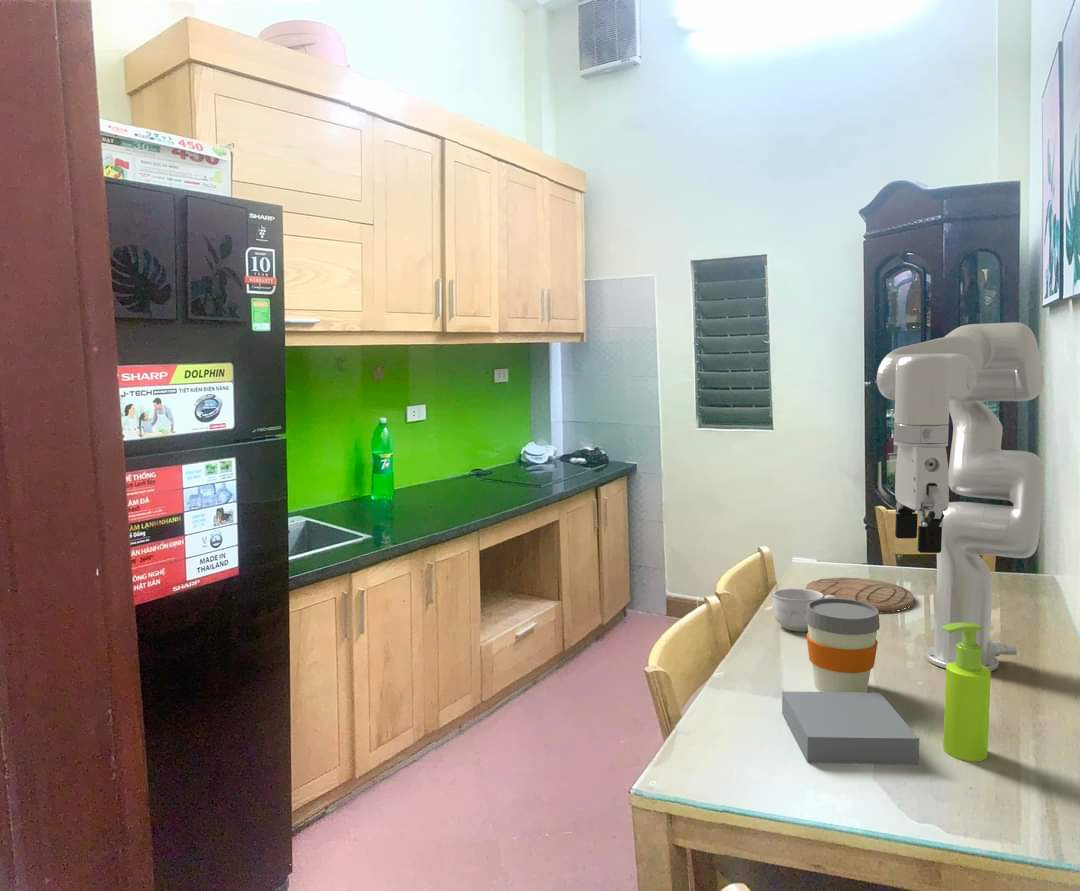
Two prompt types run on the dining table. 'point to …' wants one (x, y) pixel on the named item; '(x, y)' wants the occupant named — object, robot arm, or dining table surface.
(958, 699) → the soap dispenser
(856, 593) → the trivet
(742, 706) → the dining table surface
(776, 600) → the teacup
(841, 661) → the reusable coffee cup
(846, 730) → the stand
